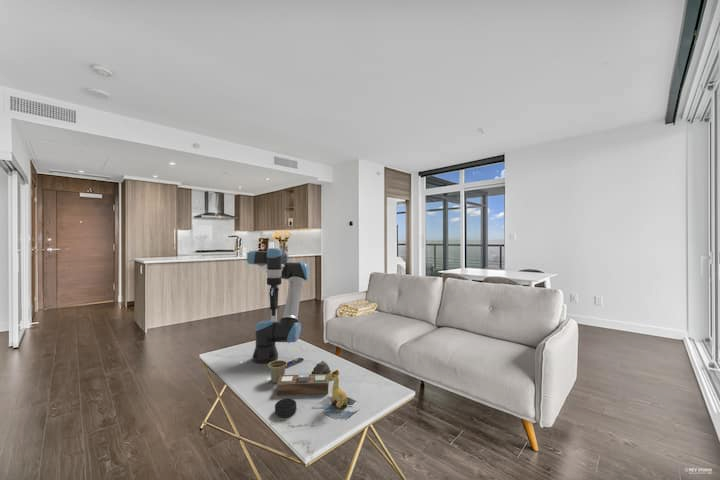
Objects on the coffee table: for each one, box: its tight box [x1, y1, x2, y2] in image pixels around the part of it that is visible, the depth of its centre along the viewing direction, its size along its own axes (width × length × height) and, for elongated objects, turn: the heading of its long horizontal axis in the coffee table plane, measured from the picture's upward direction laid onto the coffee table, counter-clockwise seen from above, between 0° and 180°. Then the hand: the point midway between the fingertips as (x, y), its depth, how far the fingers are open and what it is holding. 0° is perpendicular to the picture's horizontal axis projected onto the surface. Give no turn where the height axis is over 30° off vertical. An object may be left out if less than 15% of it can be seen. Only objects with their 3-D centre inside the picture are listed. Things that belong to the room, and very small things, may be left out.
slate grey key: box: [298, 372, 310, 382], centre depth 151 cm, size 5×5×2 cm
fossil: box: [310, 360, 332, 374], centre depth 164 cm, size 11×9×10 cm
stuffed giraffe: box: [311, 369, 357, 421], centre depth 135 cm, size 16×18×16 cm
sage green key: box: [315, 375, 326, 381], centre depth 151 cm, size 5×5×2 cm
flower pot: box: [267, 359, 288, 384], centre depth 160 cm, size 9×9×9 cm
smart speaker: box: [274, 398, 297, 418], centre depth 131 cm, size 9×9×4 cm
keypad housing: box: [276, 373, 330, 396], centre depth 151 cm, size 10×24×5 cm, turn 94°
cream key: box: [281, 376, 293, 382], centre depth 150 cm, size 5×5×2 cm
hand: (274, 321), depth 165 cm, fingers closed
